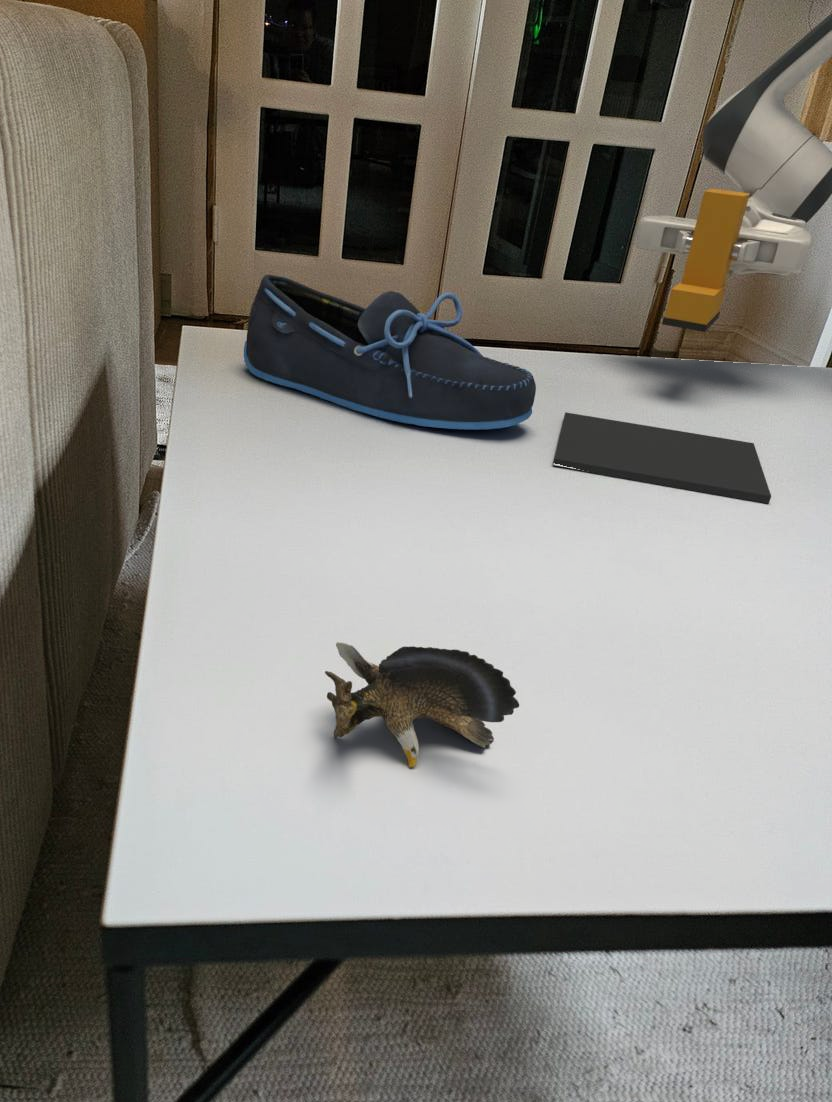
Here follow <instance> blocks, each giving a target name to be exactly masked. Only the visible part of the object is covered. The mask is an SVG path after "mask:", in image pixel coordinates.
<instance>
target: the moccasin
mask: <svg viewBox="0 0 832 1102" xmlns="http://www.w3.org/2000/svg"><path fill="white" fill-rule="evenodd" d="M446 299H449V300H452V302H453V305H454V309H455V311H456V316H455V318H454V319H452V320H438V319H437V320H436V319H431V317H432V316H433V315H434V313H435V312H436V310H437V309H438V307H439V306H440V304H441V303H442V302H443V301H445V300H446ZM462 318H463V307H462V303H461V301H460V299H459V297H458V296H457V295H456V294H454V293H452V292H444V293H441V294H440V295H439V296H438V297H437V298H436V299H435V301H433V303H432V305H431V306H430V307H429V309H428V311H427V313H426V314H425V313H423V312H421V311H420V310H419V309H418V308H417V307H416V306H415V305H414V304H413V303H412V302H411V301H410V300H408V299H407V297H406V296H404V295H403V294H402V293H401V292H398V291H393V290H388V291H385V292H383V293H382V294H380V295H378V296H377V297H376V298H375V299H373V301H372V302H371V303H370V304H369V305H367V307H366V308H365V307H363V306H360V305H358V304H355V303H352V302H349V301H347V300H344V299H342V298H339V297H336V296H334V295H330V294H328V293H324V292H322V291H319V290H317V289H314V288H312V287H309V286H307V285H304V284H302V283H300V282H298V281H295V280H293V279H290V278H287V277H284V276H279V275H275V274H274V275H273V274H265V275H264V276H262V278H261V280H260V284H259V287H258V288H257V291H256V294H255V296H254V300H253V302H252V305H251V307H250V312H249V317H248V322H247V331H246V340H245V342H244V346H243V359H244V361H243V362H244V364H245V366H246V368H247V369H248V370H249V371H250V373H251V374H252V375H254V376H255V377H258V378H259V379H262V380H264V381H266V382H270V383H272V384H274V385H275V384H276V385H280V386H282V387H287V388H289V389H290V388H291V389H294V390H298V391H300V392H303V393H305V394H310V395H311V396H315V397H318V398H320V399H322V400H325V401H329V402H331V403H333V404H336V405H338V406H341V407H344V408H347V409H350V410H352V411H355V412H359V413H363V414H367V415H370V416H373V417H377V418H380V419H385V420H389V421H393V422H398V423H401V424H402V423H403V424H409V425H415V426H419V427H420V426H421V427H430V428H437V429H451V430H494V429H504V428H509V427H513V426H517V425H519V424H521V423H523V422H525V421H527V420H529V418H530V417H531V416H532V414H533V406H534V403H535V398H536V392H537V384H536V381H535V378H534V376H533V373H532V372H530V370H527V369H525V368H521V367H520V366H518V365H513V364H510V363H508V362H502V361H498V360H496V359H492V358H490V357H487V356H484V355H483V354H482V353H481V352H480V351H479V350H478V349H477V348H476V347H475V346H474V345H473V344H471V343H470V342H469V341H468V340H466V339H464V338H462V337H461V336H460V335H457V334H456V333H454V332H452V331H450V330H448V329H446V328H451V327H455V326H456V325H458V324H459V323H460V322H461V320H462Z"/></svg>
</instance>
